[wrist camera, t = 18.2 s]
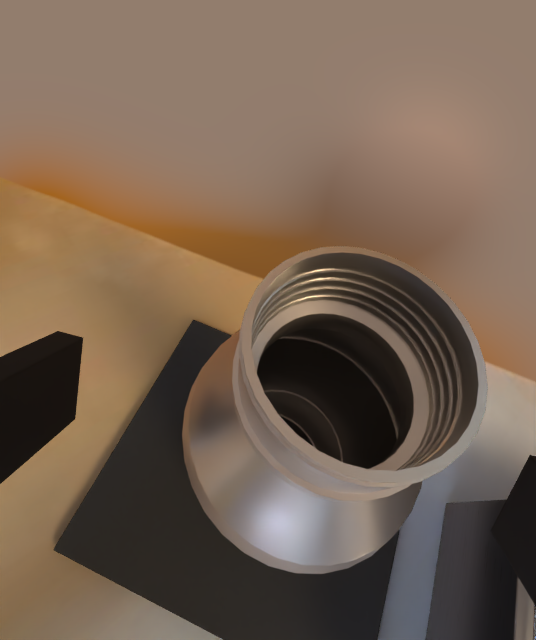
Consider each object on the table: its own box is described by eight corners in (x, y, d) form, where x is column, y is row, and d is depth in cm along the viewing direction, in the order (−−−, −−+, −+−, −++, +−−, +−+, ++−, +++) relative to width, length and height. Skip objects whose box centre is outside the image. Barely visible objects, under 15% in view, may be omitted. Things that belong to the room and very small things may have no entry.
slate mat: (56, 549, 20) (52, 549, 20) (193, 322, 28) (193, 319, 28) (359, 708, 19) (362, 713, 18) (419, 418, 26) (422, 417, 26)
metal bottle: (279, 406, 25) (398, 146, 7) (331, 504, 22) (699, 460, 5) (190, 450, 23) (70, 242, 6) (236, 563, 21) (277, 834, 3)
